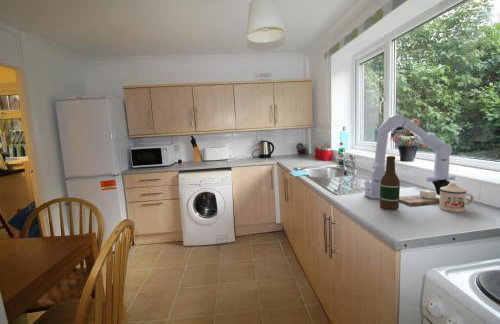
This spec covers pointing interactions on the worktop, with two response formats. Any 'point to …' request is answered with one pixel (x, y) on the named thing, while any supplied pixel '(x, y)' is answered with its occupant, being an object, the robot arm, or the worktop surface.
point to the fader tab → (428, 194)
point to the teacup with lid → (453, 198)
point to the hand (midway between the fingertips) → (439, 194)
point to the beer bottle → (390, 187)
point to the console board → (418, 200)
